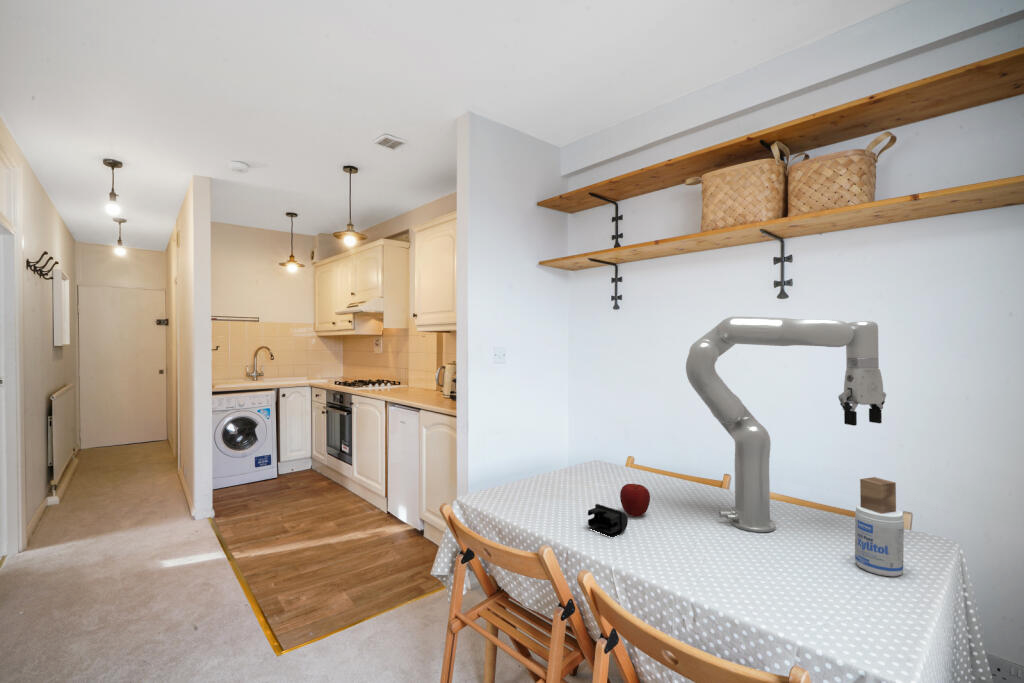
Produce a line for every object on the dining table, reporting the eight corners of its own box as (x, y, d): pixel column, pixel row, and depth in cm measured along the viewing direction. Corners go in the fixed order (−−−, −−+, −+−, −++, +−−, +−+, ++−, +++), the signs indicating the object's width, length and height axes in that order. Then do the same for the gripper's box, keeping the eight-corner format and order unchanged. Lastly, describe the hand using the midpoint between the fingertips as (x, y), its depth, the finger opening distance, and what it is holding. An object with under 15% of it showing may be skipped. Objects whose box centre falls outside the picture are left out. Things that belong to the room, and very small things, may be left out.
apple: (639, 523, 150) (638, 490, 150) (614, 514, 157) (613, 484, 157) (656, 515, 156) (655, 484, 156) (631, 508, 163) (630, 478, 163)
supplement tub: (853, 569, 118) (852, 510, 118) (856, 556, 125) (856, 500, 125) (904, 582, 112) (903, 519, 112) (904, 567, 119) (904, 508, 119)
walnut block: (881, 513, 115) (880, 484, 115) (860, 506, 120) (860, 478, 120) (896, 511, 117) (895, 482, 117) (875, 504, 122) (874, 477, 122)
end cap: (628, 532, 142) (628, 510, 142) (613, 539, 138) (613, 515, 138) (601, 523, 150) (601, 501, 150) (586, 529, 145) (586, 506, 145)
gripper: (852, 365, 132) (853, 427, 132) (897, 364, 137) (898, 424, 137) (827, 364, 139) (828, 423, 139) (870, 363, 144) (871, 420, 144)
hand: (863, 423), depth 138 cm, fingers open, 9 cm apart
